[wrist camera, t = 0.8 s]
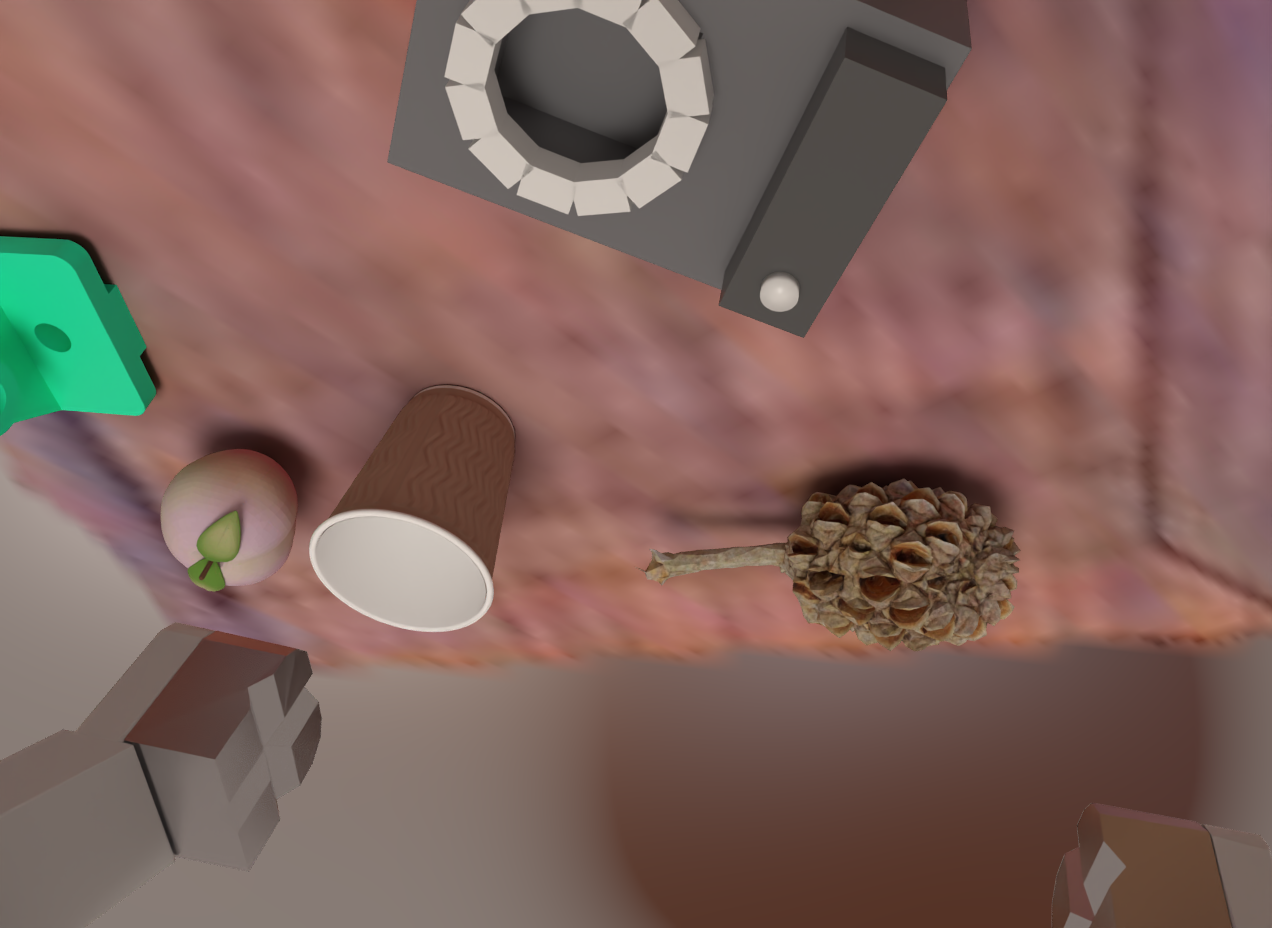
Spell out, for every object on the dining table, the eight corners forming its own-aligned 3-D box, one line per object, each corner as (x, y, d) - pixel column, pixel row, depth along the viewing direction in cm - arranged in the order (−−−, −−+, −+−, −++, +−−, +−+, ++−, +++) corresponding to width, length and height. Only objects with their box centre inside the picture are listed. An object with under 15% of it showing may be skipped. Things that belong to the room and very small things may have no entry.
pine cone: (1007, 430, 60) (1022, 569, 53) (1019, 543, 66) (1033, 680, 60) (634, 468, 67) (605, 595, 61) (677, 567, 74) (654, 691, 67)
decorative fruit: (202, 394, 69) (125, 510, 62) (327, 436, 70) (265, 555, 63) (200, 484, 76) (131, 598, 69) (314, 521, 77) (257, 637, 70)
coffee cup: (403, 478, 72) (339, 626, 64) (360, 358, 64) (282, 507, 56) (554, 487, 70) (508, 640, 62) (527, 364, 63) (471, 519, 54)
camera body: (492, -221, 41) (421, -144, 35) (964, -18, 44) (975, 89, 37) (428, 96, 51) (363, 200, 45) (814, 247, 54) (803, 366, 48)
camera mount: (169, 388, 70) (87, 507, 63) (61, 381, 71) (-31, 496, 64) (91, 229, 61) (-13, 345, 54) (-29, 223, 62) (-147, 336, 55)
